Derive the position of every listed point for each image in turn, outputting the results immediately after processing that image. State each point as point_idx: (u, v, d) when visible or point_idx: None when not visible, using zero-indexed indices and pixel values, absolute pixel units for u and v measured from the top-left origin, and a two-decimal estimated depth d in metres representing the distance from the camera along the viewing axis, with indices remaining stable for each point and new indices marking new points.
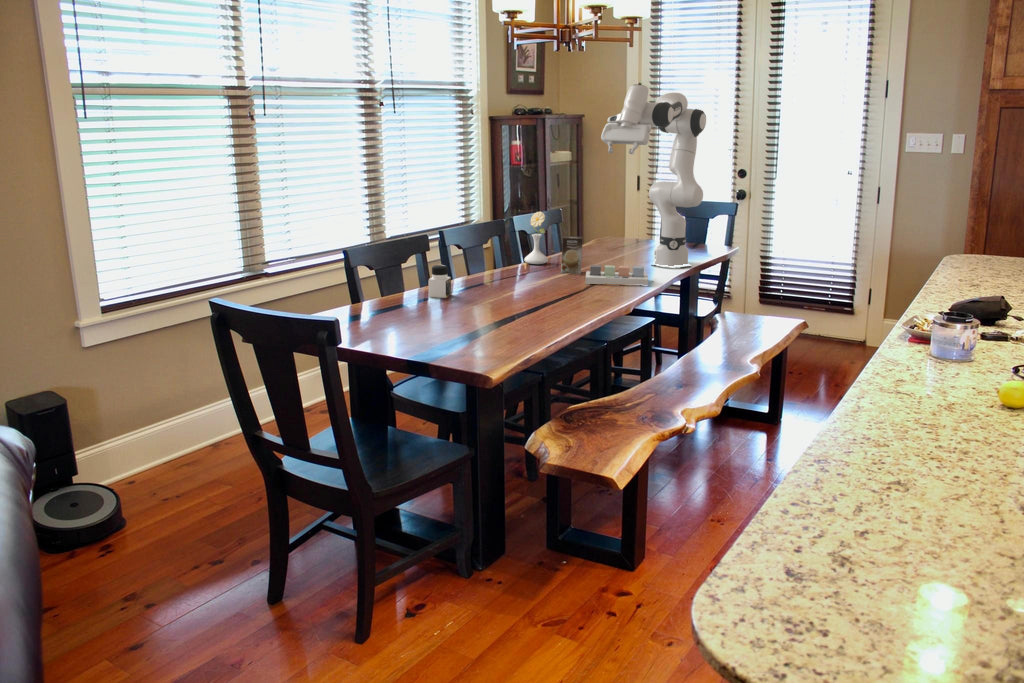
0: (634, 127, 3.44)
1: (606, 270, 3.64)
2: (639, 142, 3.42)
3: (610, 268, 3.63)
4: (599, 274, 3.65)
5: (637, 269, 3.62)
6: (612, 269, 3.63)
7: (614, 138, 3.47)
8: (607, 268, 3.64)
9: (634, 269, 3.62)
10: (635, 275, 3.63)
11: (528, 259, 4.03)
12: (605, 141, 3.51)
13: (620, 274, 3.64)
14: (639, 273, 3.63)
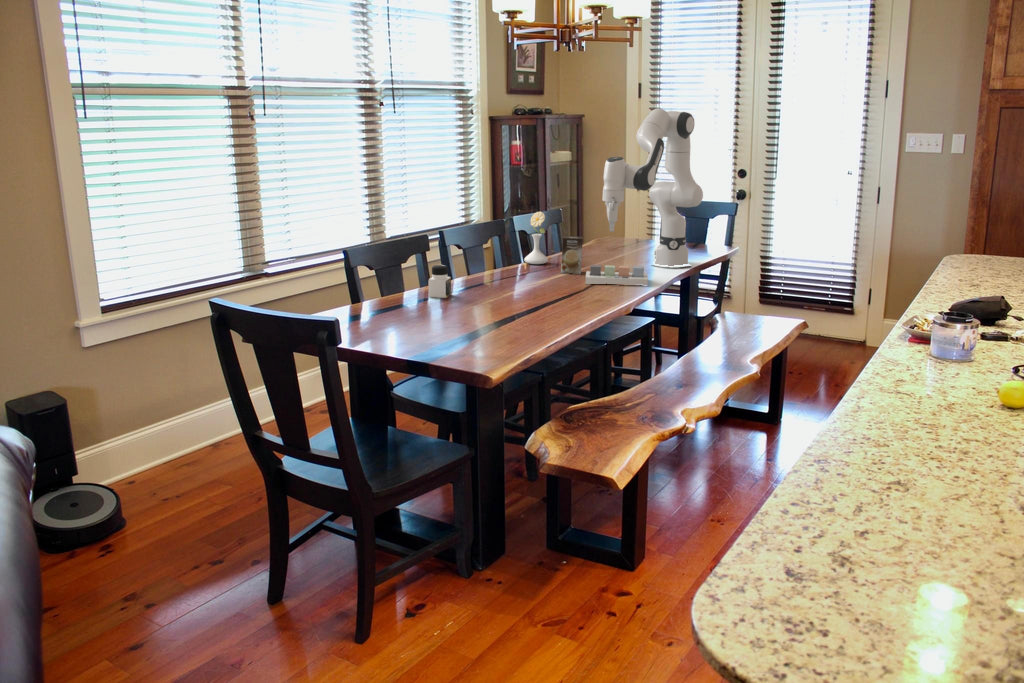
0: (608, 205, 3.55)
1: (606, 270, 3.64)
2: None
3: (610, 268, 3.63)
4: (599, 274, 3.65)
5: (637, 269, 3.62)
6: (612, 269, 3.63)
7: (607, 216, 3.63)
8: (607, 268, 3.64)
9: (634, 269, 3.62)
10: (635, 275, 3.63)
11: (528, 259, 4.03)
12: None
13: (620, 274, 3.64)
14: (639, 273, 3.63)
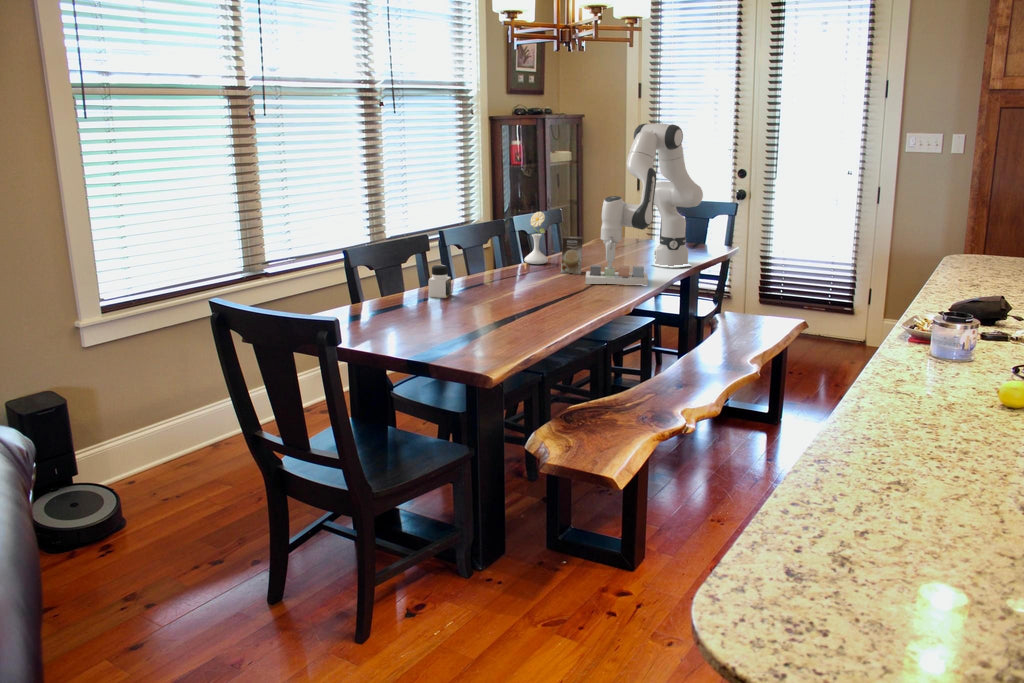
0: (606, 244, 3.59)
1: (606, 272, 3.64)
2: None
3: (610, 270, 3.64)
4: (599, 274, 3.65)
5: (637, 269, 3.62)
6: (612, 271, 3.64)
7: None
8: (607, 270, 3.64)
9: (634, 269, 3.62)
10: (635, 275, 3.63)
11: (528, 259, 4.03)
12: None
13: (620, 274, 3.64)
14: (639, 273, 3.63)
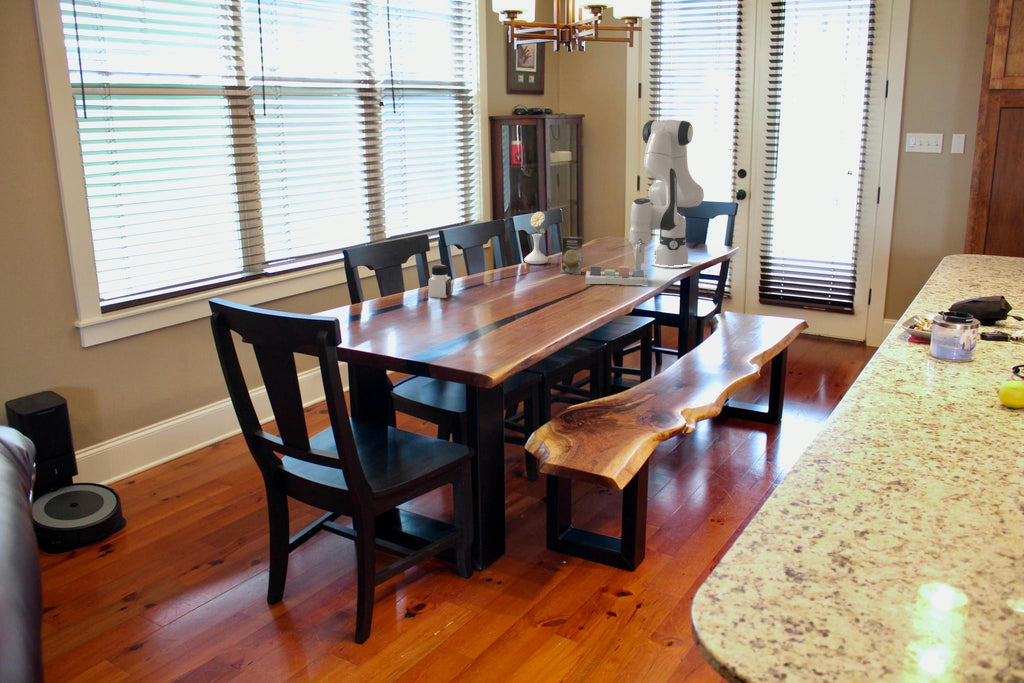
0: (635, 247, 3.58)
1: (606, 274, 3.64)
2: None
3: (610, 272, 3.64)
4: (599, 274, 3.65)
5: (637, 272, 3.63)
6: (612, 273, 3.64)
7: None
8: (607, 272, 3.64)
9: (634, 272, 3.63)
10: None
11: (528, 259, 4.03)
12: None
13: (620, 274, 3.64)
14: (639, 276, 3.63)
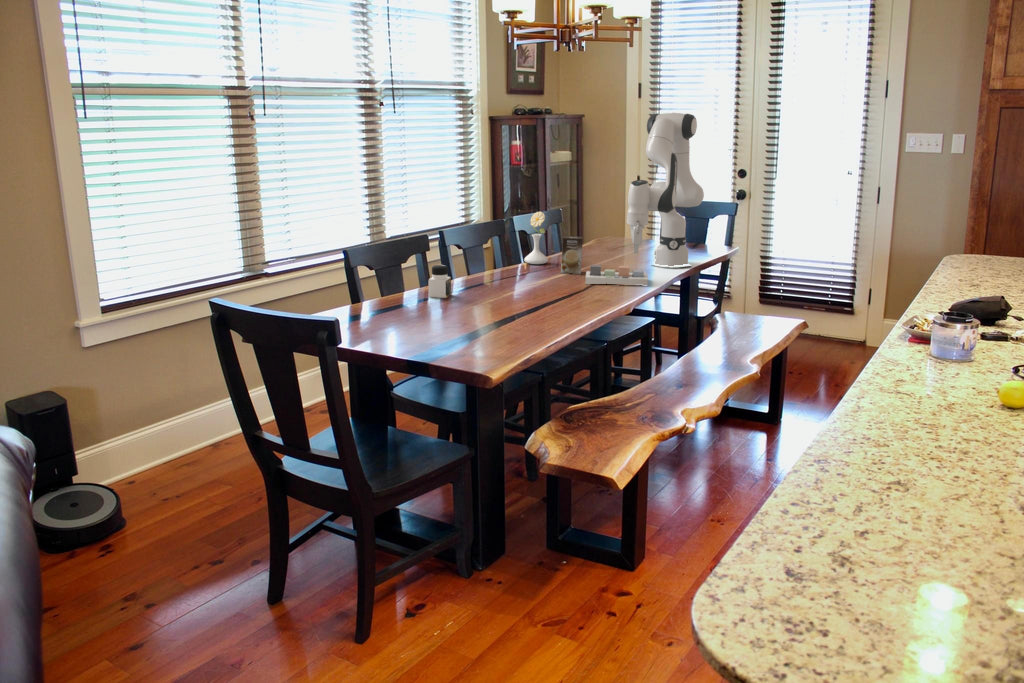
0: None
1: (606, 274, 3.64)
2: None
3: (610, 272, 3.64)
4: (599, 274, 3.65)
5: (637, 273, 3.63)
6: (612, 273, 3.64)
7: None
8: (607, 272, 3.64)
9: (634, 273, 3.63)
10: None
11: (528, 259, 4.03)
12: None
13: (620, 274, 3.64)
14: None
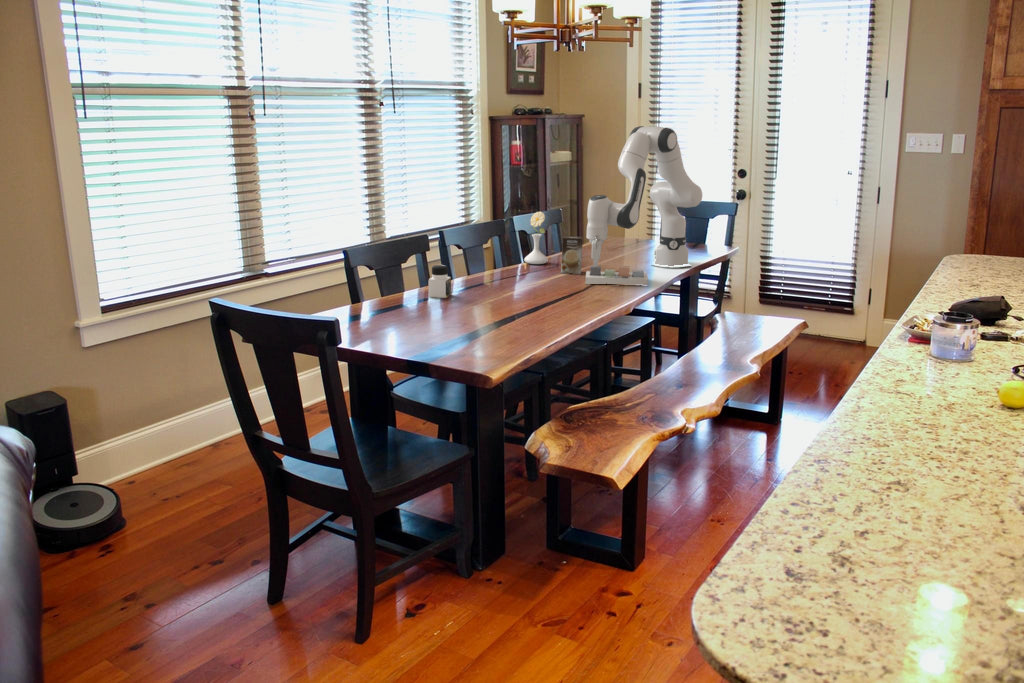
0: None
1: (606, 274, 3.64)
2: None
3: (610, 272, 3.64)
4: (599, 275, 3.65)
5: (637, 273, 3.63)
6: (612, 273, 3.64)
7: None
8: (607, 272, 3.64)
9: (634, 273, 3.63)
10: None
11: (528, 259, 4.03)
12: None
13: (620, 274, 3.64)
14: None
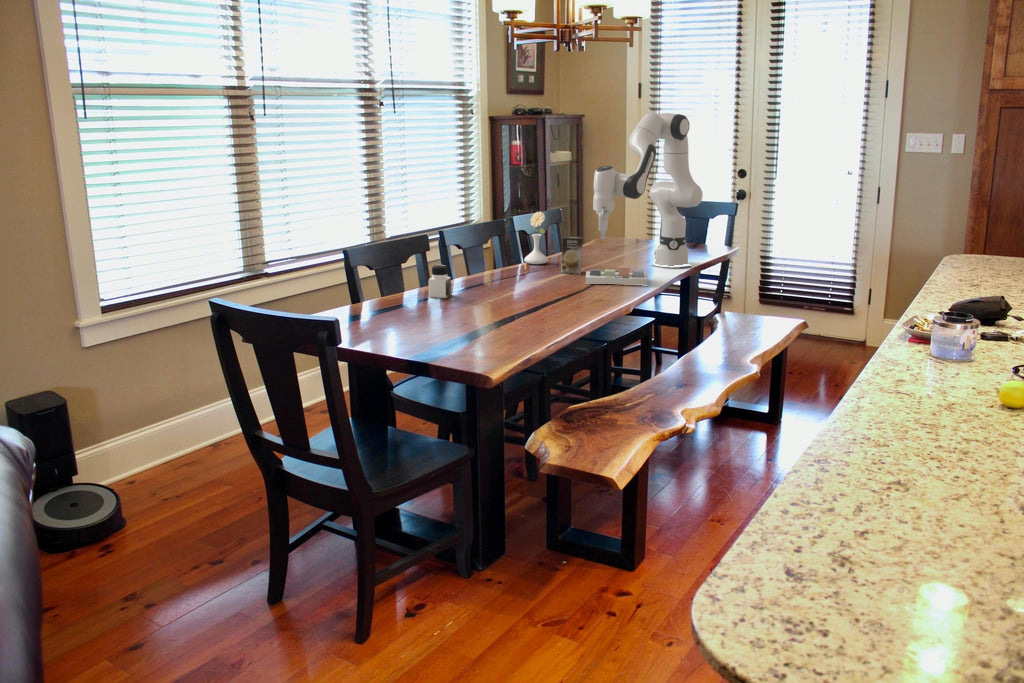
0: None
1: (606, 274, 3.64)
2: None
3: (610, 272, 3.64)
4: None
5: (637, 273, 3.63)
6: (612, 273, 3.64)
7: None
8: (607, 272, 3.64)
9: (634, 273, 3.63)
10: None
11: (528, 259, 4.03)
12: None
13: (620, 274, 3.64)
14: None
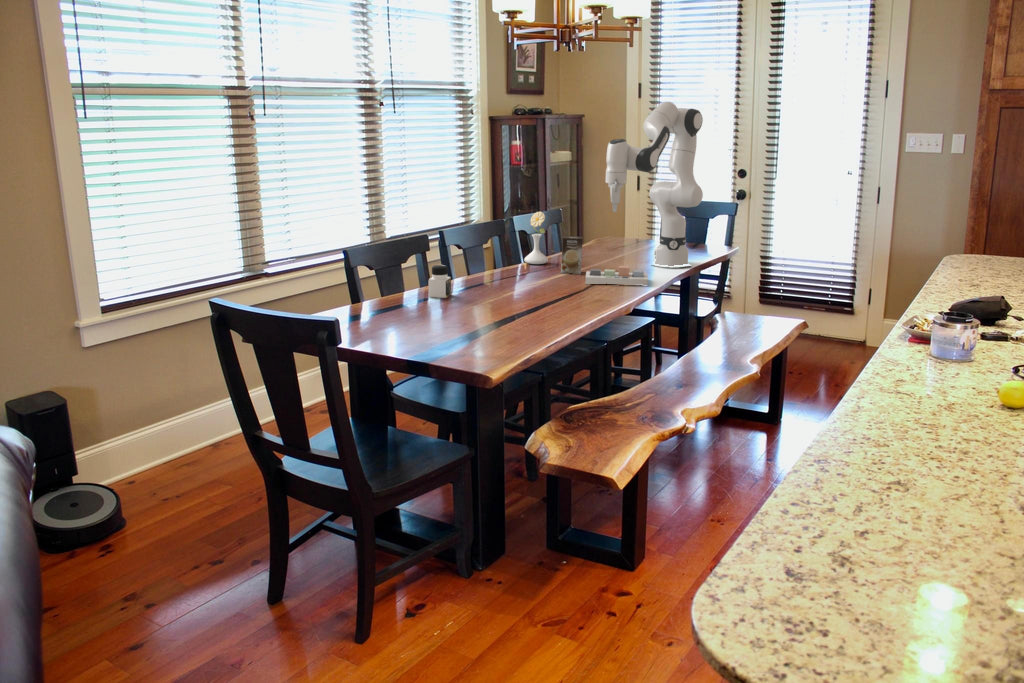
0: None
1: (606, 274, 3.64)
2: None
3: (610, 272, 3.64)
4: None
5: (637, 273, 3.63)
6: (612, 273, 3.64)
7: None
8: (607, 272, 3.64)
9: (634, 273, 3.63)
10: None
11: (528, 259, 4.03)
12: None
13: (620, 274, 3.64)
14: None
